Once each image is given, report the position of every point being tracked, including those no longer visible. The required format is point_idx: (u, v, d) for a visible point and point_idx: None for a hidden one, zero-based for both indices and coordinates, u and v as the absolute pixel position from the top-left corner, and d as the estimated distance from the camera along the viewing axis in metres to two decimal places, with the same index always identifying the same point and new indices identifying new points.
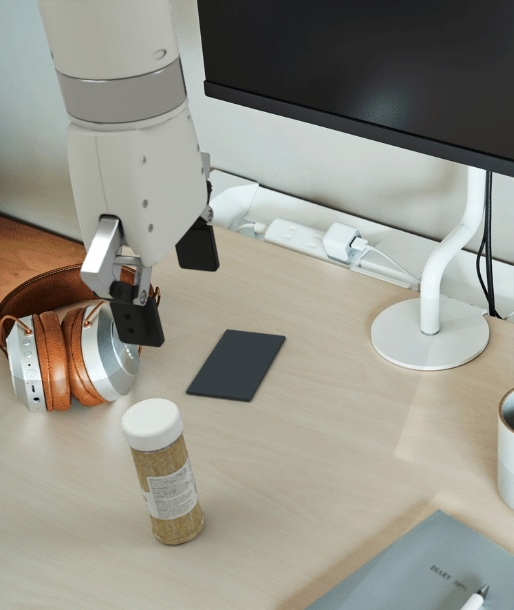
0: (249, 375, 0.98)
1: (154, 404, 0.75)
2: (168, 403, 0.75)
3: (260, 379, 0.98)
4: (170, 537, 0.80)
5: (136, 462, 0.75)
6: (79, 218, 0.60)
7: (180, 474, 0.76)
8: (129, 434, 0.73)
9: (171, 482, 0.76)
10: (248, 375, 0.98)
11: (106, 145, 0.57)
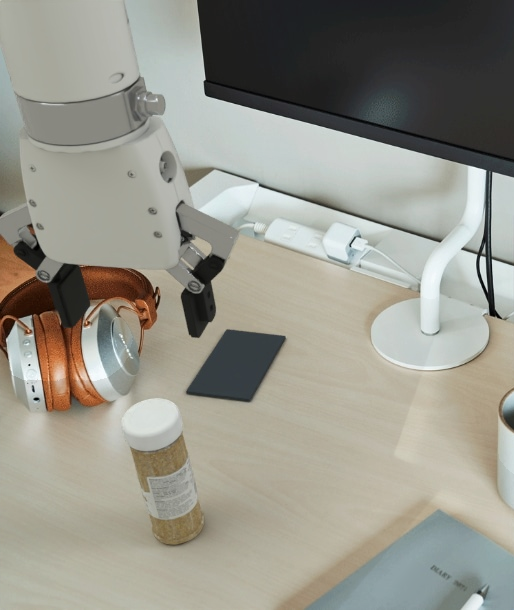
0: (249, 375, 0.98)
1: (154, 404, 0.75)
2: (168, 403, 0.75)
3: (260, 379, 0.98)
4: (170, 537, 0.80)
5: (136, 462, 0.75)
6: None
7: (180, 474, 0.76)
8: (129, 434, 0.73)
9: (171, 482, 0.76)
10: (248, 375, 0.98)
11: None
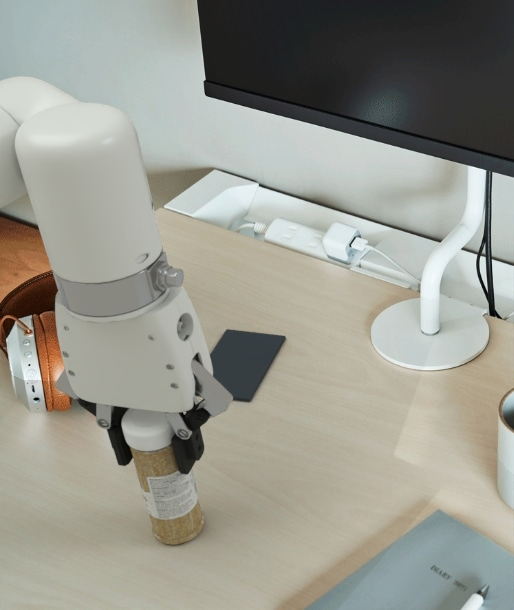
0: (249, 375, 0.98)
1: None
2: None
3: (260, 379, 0.98)
4: (170, 537, 0.80)
5: (136, 462, 0.75)
6: None
7: (180, 474, 0.76)
8: (129, 434, 0.73)
9: (171, 482, 0.76)
10: (248, 375, 0.98)
11: None
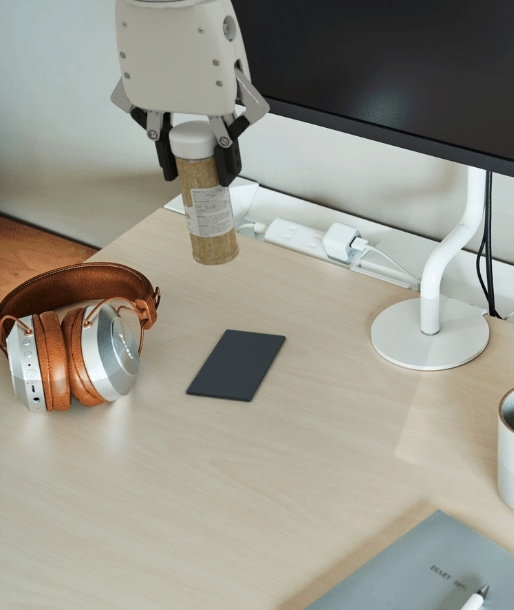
0: (249, 375, 0.98)
1: (198, 123, 0.84)
2: None
3: (260, 379, 0.98)
4: (209, 257, 0.88)
5: (181, 174, 0.84)
6: None
7: (220, 190, 0.85)
8: (176, 142, 0.81)
9: (212, 196, 0.85)
10: (248, 375, 0.98)
11: None
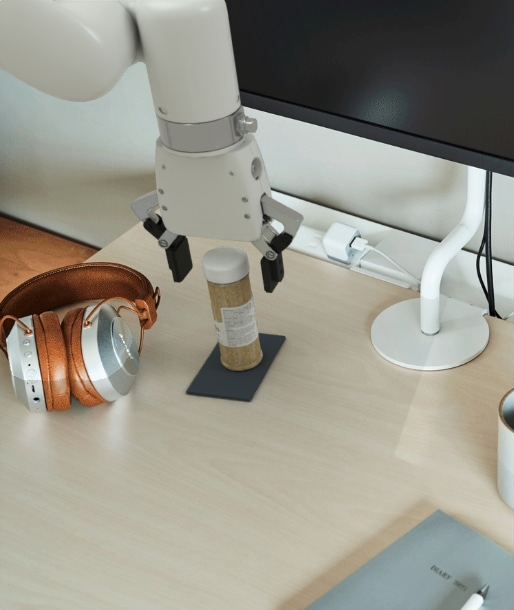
0: (249, 375, 0.98)
1: (226, 249, 0.94)
2: (237, 248, 0.94)
3: (260, 379, 0.98)
4: (236, 364, 0.98)
5: (212, 295, 0.94)
6: None
7: (246, 307, 0.95)
8: (208, 269, 0.91)
9: (240, 313, 0.95)
10: (248, 375, 0.98)
11: None
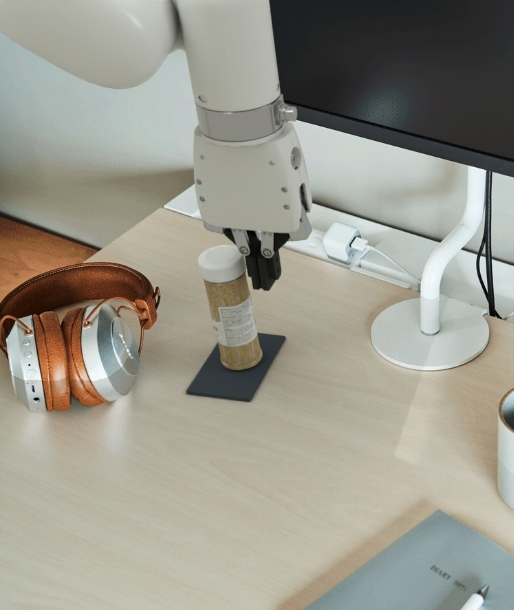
0: (249, 375, 0.98)
1: (223, 248, 0.94)
2: (233, 247, 0.94)
3: (260, 379, 0.98)
4: (236, 363, 0.98)
5: (209, 295, 0.94)
6: None
7: (244, 306, 0.95)
8: (205, 268, 0.91)
9: (237, 312, 0.95)
10: (248, 375, 0.98)
11: None
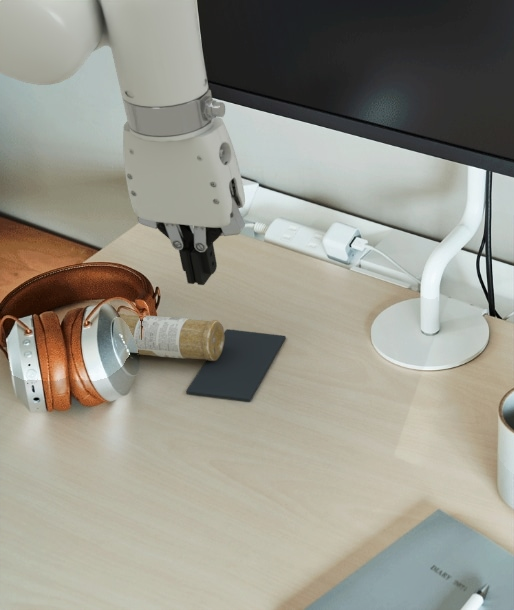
0: (249, 375, 0.98)
1: None
2: None
3: (260, 379, 0.98)
4: (199, 349, 0.98)
5: None
6: None
7: (140, 325, 0.99)
8: None
9: None
10: (248, 375, 0.98)
11: None
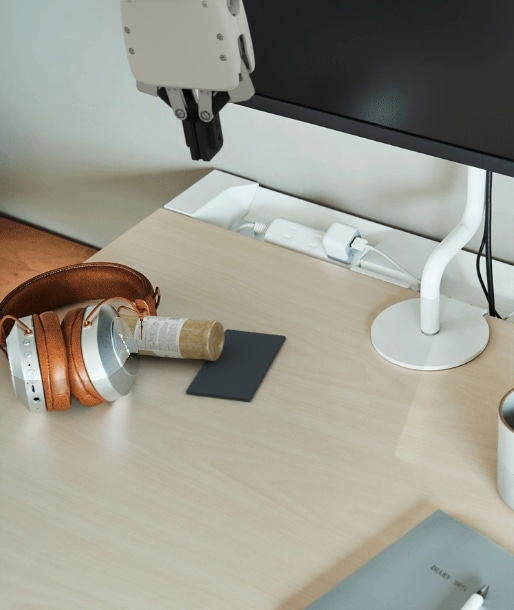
0: (249, 375, 0.98)
1: None
2: None
3: (260, 379, 0.98)
4: (200, 349, 0.98)
5: None
6: None
7: (140, 325, 0.99)
8: None
9: None
10: (248, 375, 0.98)
11: None
